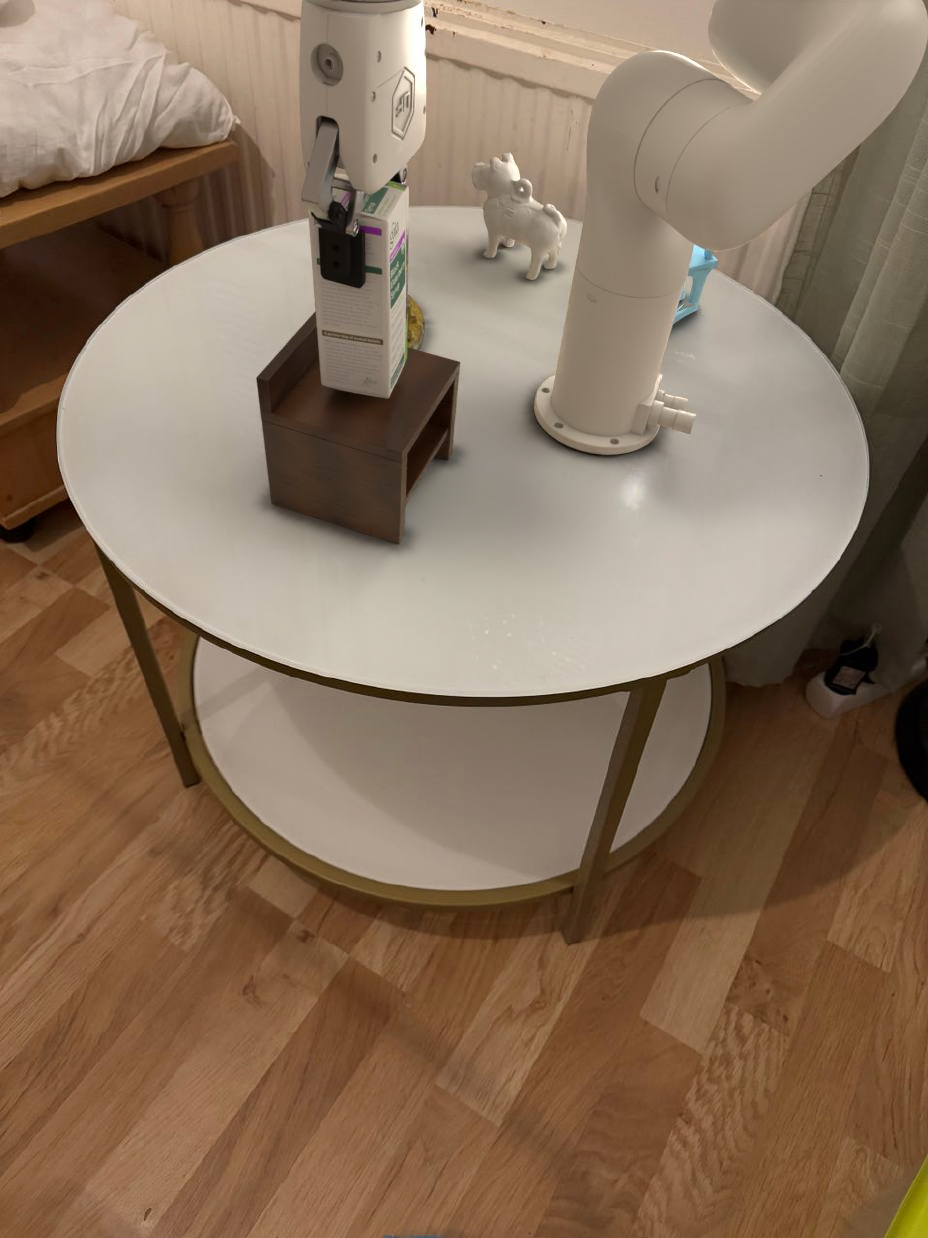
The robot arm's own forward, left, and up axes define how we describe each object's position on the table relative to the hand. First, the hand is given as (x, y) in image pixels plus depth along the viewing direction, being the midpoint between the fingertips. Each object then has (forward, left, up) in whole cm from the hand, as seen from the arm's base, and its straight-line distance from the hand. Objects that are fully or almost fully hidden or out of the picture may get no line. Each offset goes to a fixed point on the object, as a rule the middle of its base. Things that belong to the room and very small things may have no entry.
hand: (363, 256), depth 65 cm
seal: (+8, -22, -21) cm, 32 cm away
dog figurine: (0, -43, -21) cm, 48 cm away
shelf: (0, 0, -21) cm, 21 cm away
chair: (-19, -40, -21) cm, 49 cm away
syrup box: (0, 0, -10) cm, 10 cm away
